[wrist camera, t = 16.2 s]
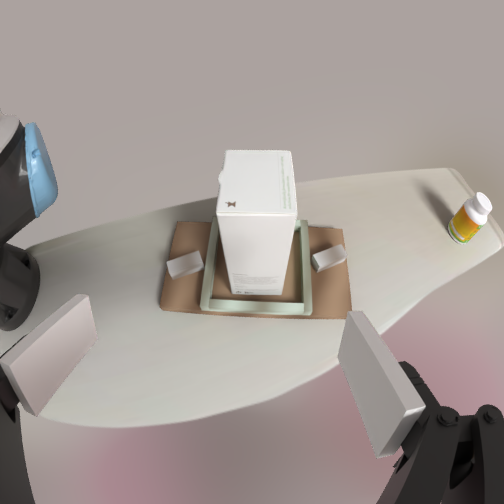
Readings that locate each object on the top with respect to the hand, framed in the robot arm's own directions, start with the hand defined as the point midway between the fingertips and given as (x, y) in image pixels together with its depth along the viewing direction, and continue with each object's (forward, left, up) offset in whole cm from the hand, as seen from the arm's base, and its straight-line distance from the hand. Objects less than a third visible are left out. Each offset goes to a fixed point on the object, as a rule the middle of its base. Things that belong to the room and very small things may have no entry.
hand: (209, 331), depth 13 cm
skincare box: (+2, +13, -19) cm, 23 cm away
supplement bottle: (+40, +23, -21) cm, 50 cm away
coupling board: (+2, +14, -20) cm, 25 cm away
